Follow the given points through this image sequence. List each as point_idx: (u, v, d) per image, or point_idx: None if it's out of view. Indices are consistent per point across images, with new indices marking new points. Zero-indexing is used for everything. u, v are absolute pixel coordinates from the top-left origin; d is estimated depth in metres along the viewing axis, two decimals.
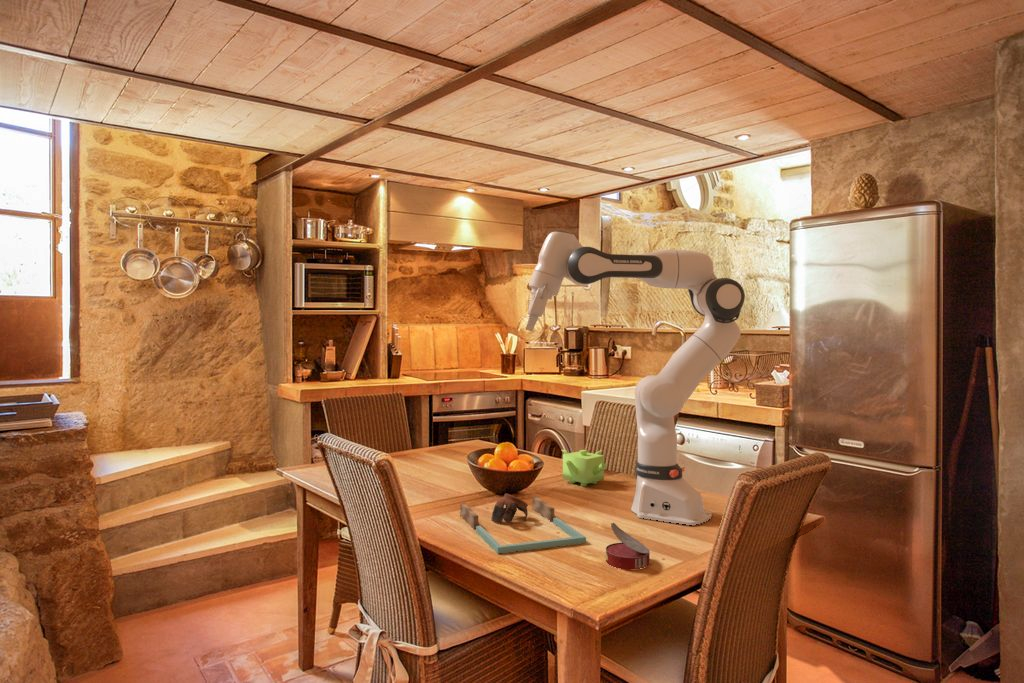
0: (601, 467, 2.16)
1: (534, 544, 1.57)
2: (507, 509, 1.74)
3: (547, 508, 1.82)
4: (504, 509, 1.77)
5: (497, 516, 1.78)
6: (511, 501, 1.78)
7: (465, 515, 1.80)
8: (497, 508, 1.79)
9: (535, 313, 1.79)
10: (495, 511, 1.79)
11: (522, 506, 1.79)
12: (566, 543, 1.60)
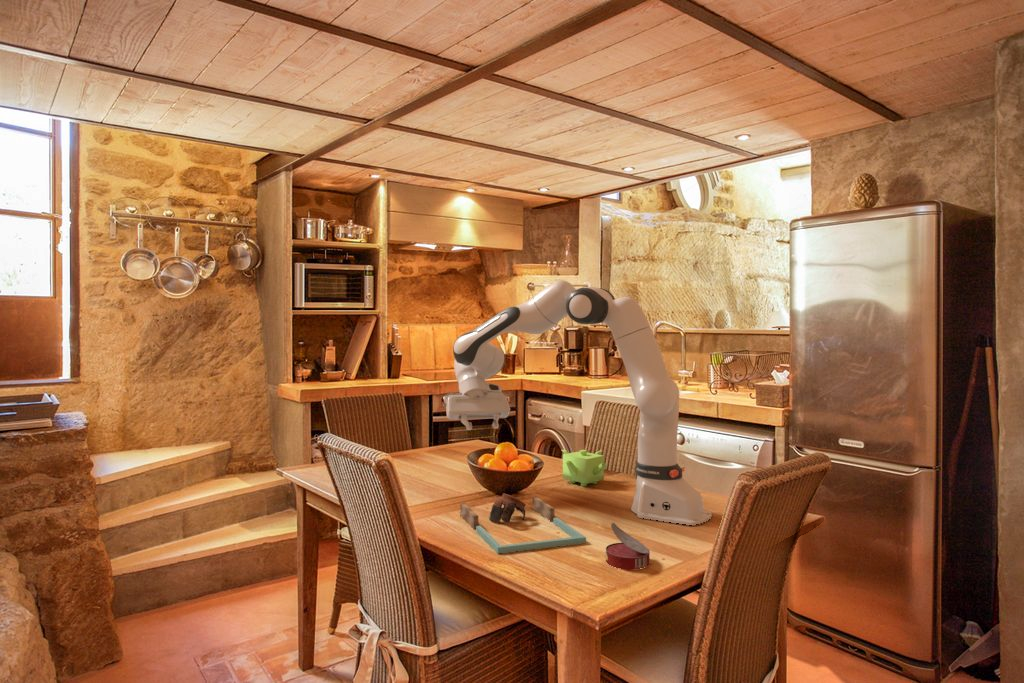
0: (601, 467, 2.16)
1: (534, 544, 1.57)
2: (505, 509, 1.74)
3: (547, 508, 1.82)
4: (502, 509, 1.77)
5: (495, 516, 1.78)
6: (509, 501, 1.79)
7: (465, 515, 1.80)
8: (495, 508, 1.79)
9: (449, 416, 2.02)
10: (493, 511, 1.79)
11: (520, 506, 1.79)
12: (566, 543, 1.60)
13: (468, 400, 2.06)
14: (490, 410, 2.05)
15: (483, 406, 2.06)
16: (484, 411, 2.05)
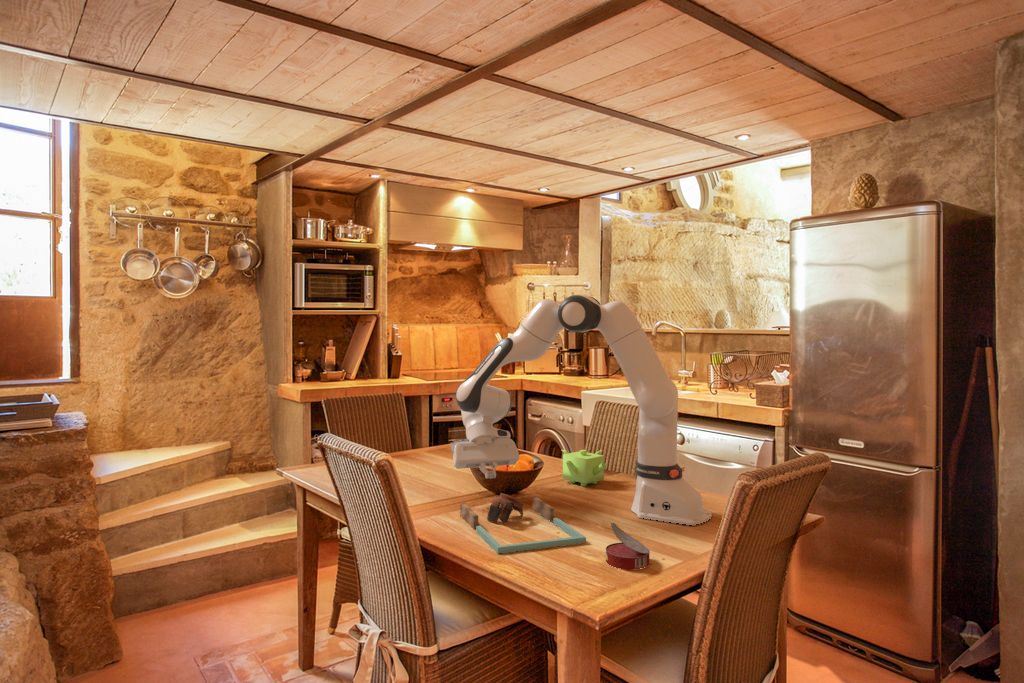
0: (601, 467, 2.16)
1: (534, 544, 1.57)
2: (503, 509, 1.75)
3: (547, 508, 1.82)
4: (500, 509, 1.78)
5: (493, 516, 1.78)
6: (507, 501, 1.79)
7: (465, 515, 1.80)
8: (493, 508, 1.79)
9: (456, 465, 1.95)
10: (491, 511, 1.79)
11: (518, 506, 1.79)
12: (566, 543, 1.60)
13: (476, 447, 2.00)
14: (499, 457, 1.99)
15: (491, 454, 1.99)
16: (492, 459, 1.98)
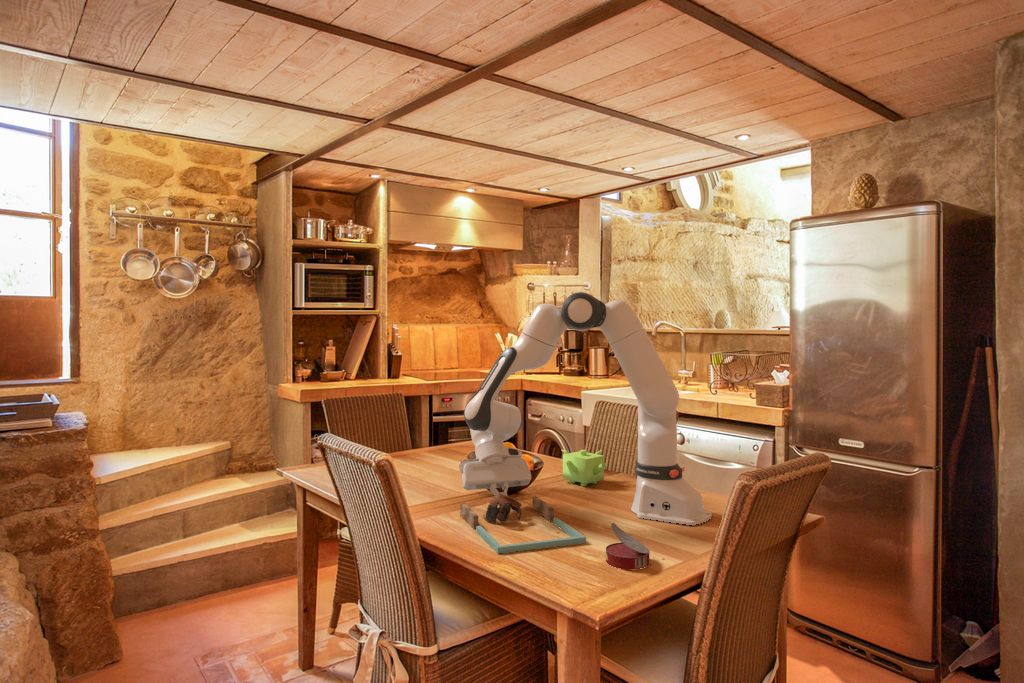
0: (601, 467, 2.16)
1: (534, 544, 1.57)
2: (501, 509, 1.74)
3: (547, 508, 1.82)
4: (498, 509, 1.77)
5: (491, 516, 1.78)
6: (505, 501, 1.78)
7: (465, 515, 1.80)
8: (491, 508, 1.79)
9: (465, 486, 1.86)
10: (489, 511, 1.79)
11: (516, 506, 1.79)
12: (566, 543, 1.60)
13: (486, 467, 1.90)
14: (510, 478, 1.89)
15: (502, 474, 1.90)
16: (503, 480, 1.88)
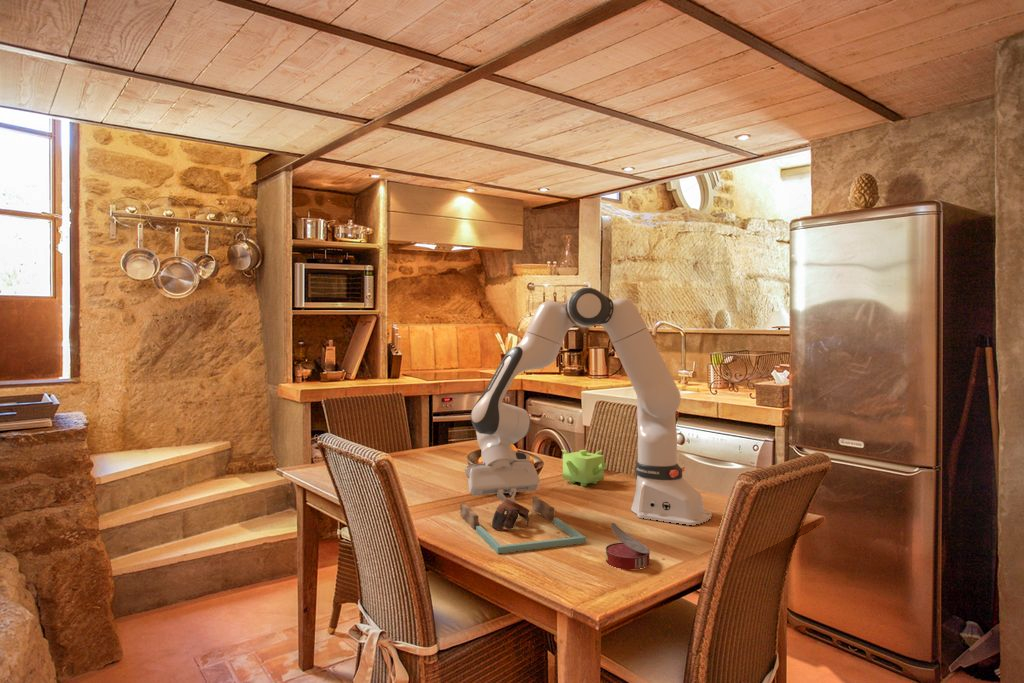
0: (601, 467, 2.16)
1: (534, 544, 1.57)
2: (508, 515, 1.68)
3: (547, 508, 1.82)
4: (505, 515, 1.71)
5: (498, 523, 1.72)
6: (512, 507, 1.72)
7: (465, 515, 1.80)
8: (498, 514, 1.73)
9: (472, 492, 1.80)
10: (496, 517, 1.73)
11: (523, 512, 1.73)
12: (566, 543, 1.60)
13: (493, 472, 1.84)
14: (518, 483, 1.83)
15: (509, 479, 1.84)
16: (511, 485, 1.82)
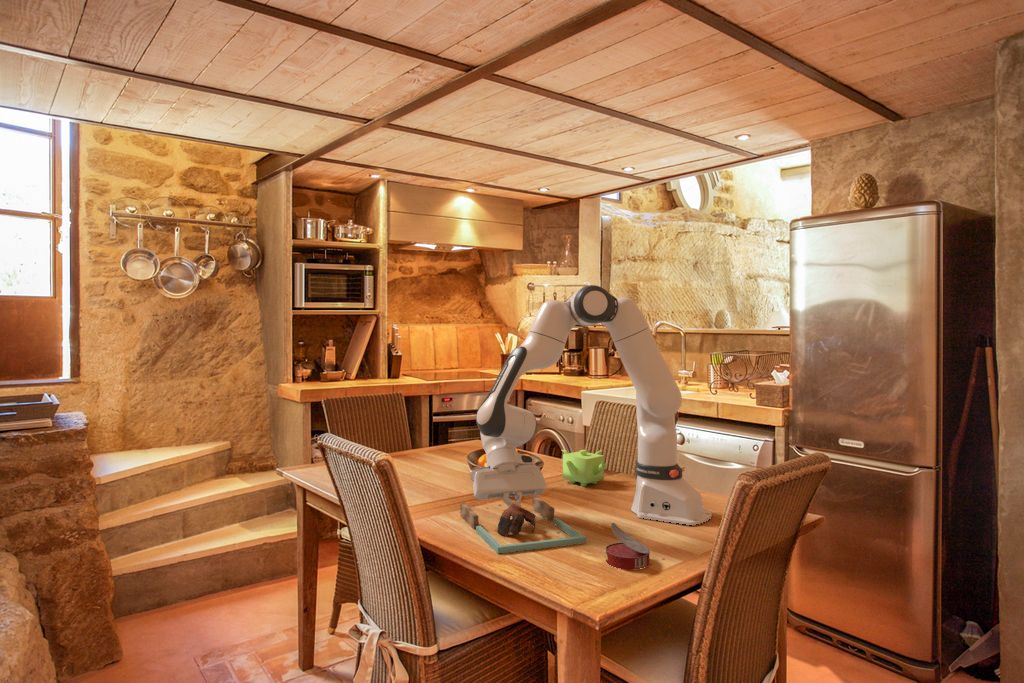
0: (601, 467, 2.16)
1: (534, 544, 1.57)
2: (514, 521, 1.64)
3: (547, 508, 1.82)
4: (511, 521, 1.67)
5: (503, 528, 1.67)
6: (518, 512, 1.68)
7: (465, 515, 1.80)
8: (503, 519, 1.68)
9: (477, 496, 1.75)
10: (501, 523, 1.69)
11: (530, 517, 1.68)
12: (566, 543, 1.60)
13: (498, 475, 1.80)
14: (524, 487, 1.79)
15: (515, 483, 1.79)
16: (517, 489, 1.78)
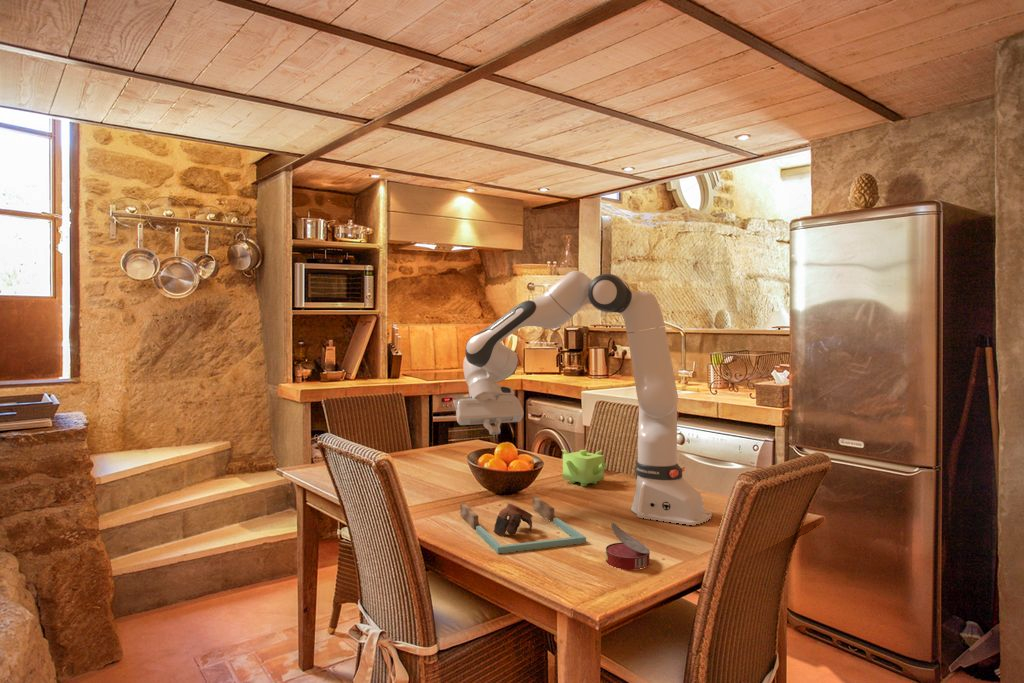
0: (601, 467, 2.16)
1: (534, 544, 1.57)
2: (511, 521, 1.64)
3: (547, 508, 1.82)
4: (507, 520, 1.67)
5: (500, 528, 1.68)
6: (515, 512, 1.68)
7: (465, 515, 1.80)
8: (500, 519, 1.69)
9: (459, 421, 1.91)
10: (498, 522, 1.69)
11: (526, 517, 1.69)
12: (566, 543, 1.60)
13: (479, 404, 1.96)
14: (503, 414, 1.95)
15: (495, 410, 1.95)
16: (496, 415, 1.94)
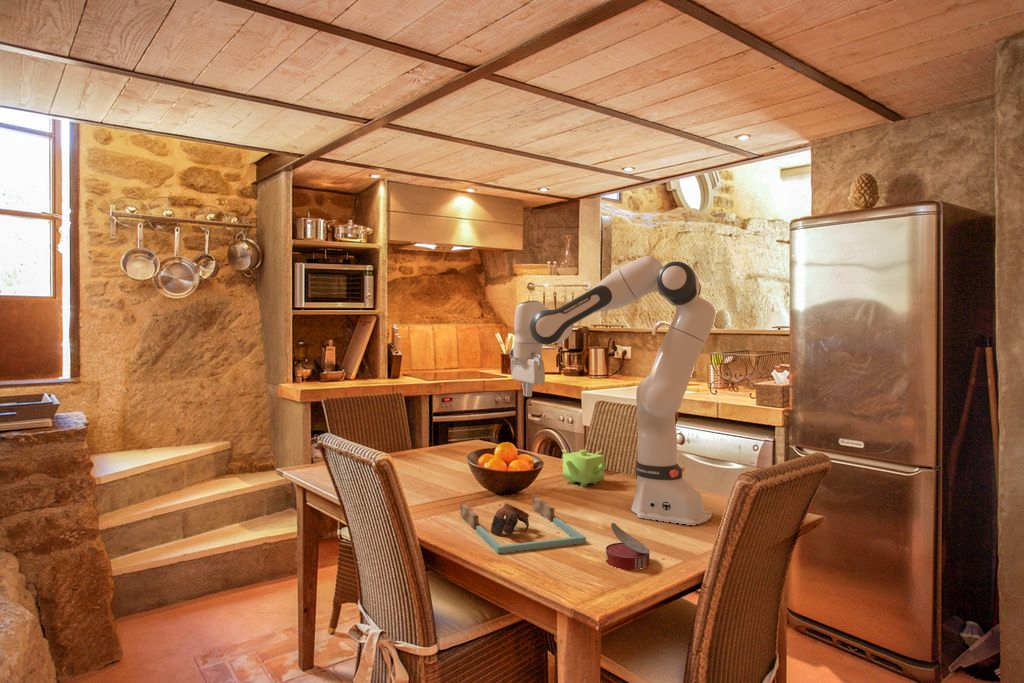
0: (601, 467, 2.16)
1: (534, 544, 1.57)
2: (508, 520, 1.64)
3: (547, 508, 1.82)
4: (504, 520, 1.67)
5: (497, 528, 1.68)
6: (512, 512, 1.68)
7: (465, 515, 1.80)
8: (497, 519, 1.69)
9: (539, 383, 1.98)
10: (495, 522, 1.69)
11: (523, 517, 1.69)
12: (566, 543, 1.60)
13: None
14: None
15: None
16: None
